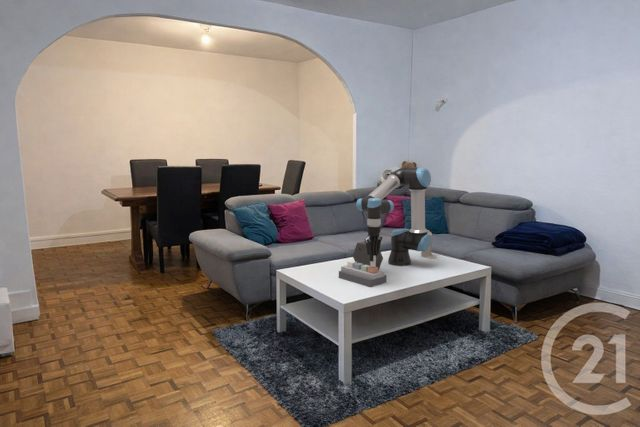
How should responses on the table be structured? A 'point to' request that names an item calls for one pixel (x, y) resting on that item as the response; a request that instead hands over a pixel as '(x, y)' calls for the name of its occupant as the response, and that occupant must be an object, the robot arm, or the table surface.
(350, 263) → the key ivory
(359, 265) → the key slate
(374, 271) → the key terracotta
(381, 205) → the robot arm
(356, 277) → the console
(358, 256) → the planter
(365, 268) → the key sage
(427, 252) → the candle
